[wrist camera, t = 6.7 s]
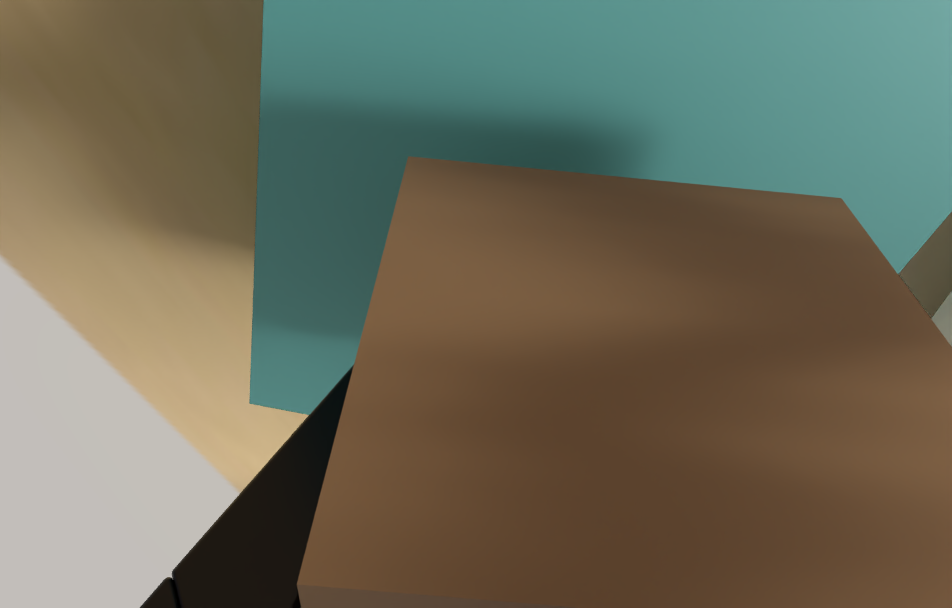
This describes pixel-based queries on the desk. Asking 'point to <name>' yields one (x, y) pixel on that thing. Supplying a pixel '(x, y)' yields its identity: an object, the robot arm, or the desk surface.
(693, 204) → the walnut cube
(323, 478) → the robot arm
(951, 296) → the grey cube
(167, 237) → the desk surface
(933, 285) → the desk surface
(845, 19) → the teal base block
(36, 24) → the desk surface
